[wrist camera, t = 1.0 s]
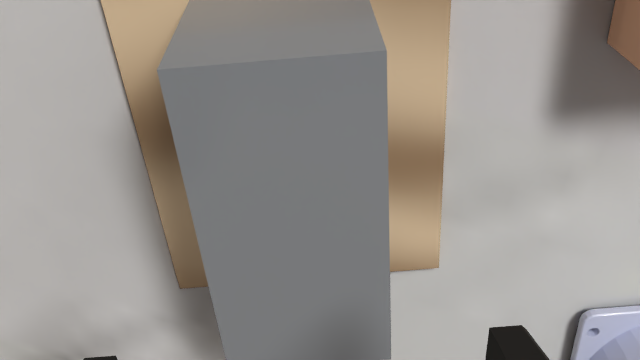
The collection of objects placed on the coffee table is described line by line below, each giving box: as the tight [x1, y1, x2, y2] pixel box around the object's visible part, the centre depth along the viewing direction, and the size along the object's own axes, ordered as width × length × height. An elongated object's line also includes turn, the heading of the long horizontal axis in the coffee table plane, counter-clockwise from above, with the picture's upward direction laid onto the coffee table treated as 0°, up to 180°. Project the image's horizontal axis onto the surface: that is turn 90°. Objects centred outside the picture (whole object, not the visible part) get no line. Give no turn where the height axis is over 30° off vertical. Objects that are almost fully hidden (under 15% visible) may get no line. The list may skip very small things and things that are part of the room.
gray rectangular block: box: [157, 0, 391, 360], centre depth 18 cm, size 10×5×5 cm, turn 4°
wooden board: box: [101, 0, 451, 289], centre depth 20 cm, size 12×10×1 cm
